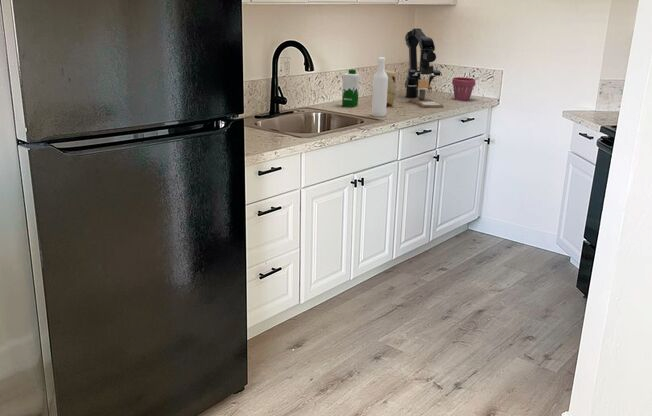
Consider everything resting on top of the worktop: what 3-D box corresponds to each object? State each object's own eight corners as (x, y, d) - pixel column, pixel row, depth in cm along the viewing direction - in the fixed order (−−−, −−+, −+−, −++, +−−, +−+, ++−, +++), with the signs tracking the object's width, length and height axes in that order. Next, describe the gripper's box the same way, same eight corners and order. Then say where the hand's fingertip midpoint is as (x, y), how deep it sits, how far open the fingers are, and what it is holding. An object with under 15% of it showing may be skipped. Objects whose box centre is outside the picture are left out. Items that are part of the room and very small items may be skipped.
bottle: (371, 116, 329) (374, 58, 319) (370, 113, 336) (373, 56, 327) (386, 117, 329) (390, 58, 319) (385, 114, 337) (388, 57, 327)
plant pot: (475, 101, 383) (477, 80, 379) (452, 101, 383) (454, 79, 379) (471, 97, 397) (473, 77, 393) (448, 97, 397) (450, 76, 393)
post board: (408, 100, 379) (409, 88, 377) (427, 100, 382) (428, 88, 379) (423, 108, 357) (424, 94, 355) (443, 107, 360) (444, 94, 357)
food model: (376, 105, 362) (378, 70, 355) (381, 103, 367) (383, 69, 360) (391, 107, 357) (393, 71, 350) (396, 105, 362) (399, 70, 356)
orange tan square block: (418, 87, 369) (418, 80, 368) (417, 86, 375) (417, 79, 374) (428, 88, 369) (429, 81, 368) (427, 86, 375) (427, 79, 373)
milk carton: (359, 105, 360) (361, 70, 354) (354, 107, 352) (356, 71, 346) (345, 104, 363) (346, 68, 356) (339, 106, 355) (341, 70, 348)
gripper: (410, 61, 359) (408, 88, 364) (442, 62, 359) (440, 89, 364) (408, 59, 370) (406, 86, 375) (440, 60, 370) (437, 86, 375)
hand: (422, 87), depth 372 cm, fingers closed on orange tan square block, 6 cm apart
